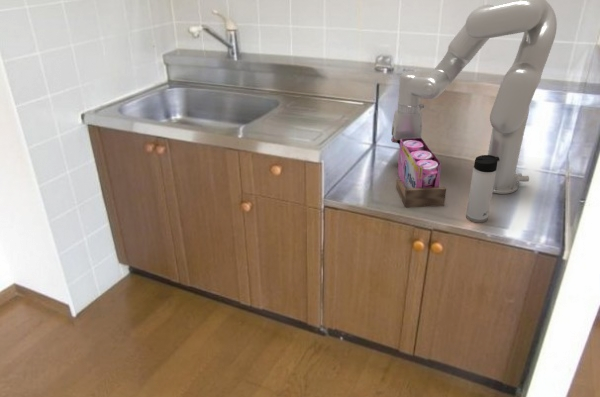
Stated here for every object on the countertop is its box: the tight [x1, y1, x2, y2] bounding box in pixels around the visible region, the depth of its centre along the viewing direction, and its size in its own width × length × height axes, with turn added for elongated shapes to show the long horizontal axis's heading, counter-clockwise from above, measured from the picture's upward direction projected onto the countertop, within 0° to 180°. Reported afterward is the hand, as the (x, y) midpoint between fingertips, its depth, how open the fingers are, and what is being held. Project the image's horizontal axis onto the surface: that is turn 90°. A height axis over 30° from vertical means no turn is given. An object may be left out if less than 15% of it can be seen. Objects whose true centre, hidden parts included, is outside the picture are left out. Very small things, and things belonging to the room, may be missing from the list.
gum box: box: [397, 137, 442, 189], centre depth 165 cm, size 24×8×14 cm, turn 4°
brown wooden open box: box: [395, 179, 447, 208], centre depth 162 cm, size 12×14×6 cm
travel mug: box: [465, 154, 500, 224], centre depth 145 cm, size 6×7×20 cm
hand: (404, 156), depth 181 cm, fingers closed
